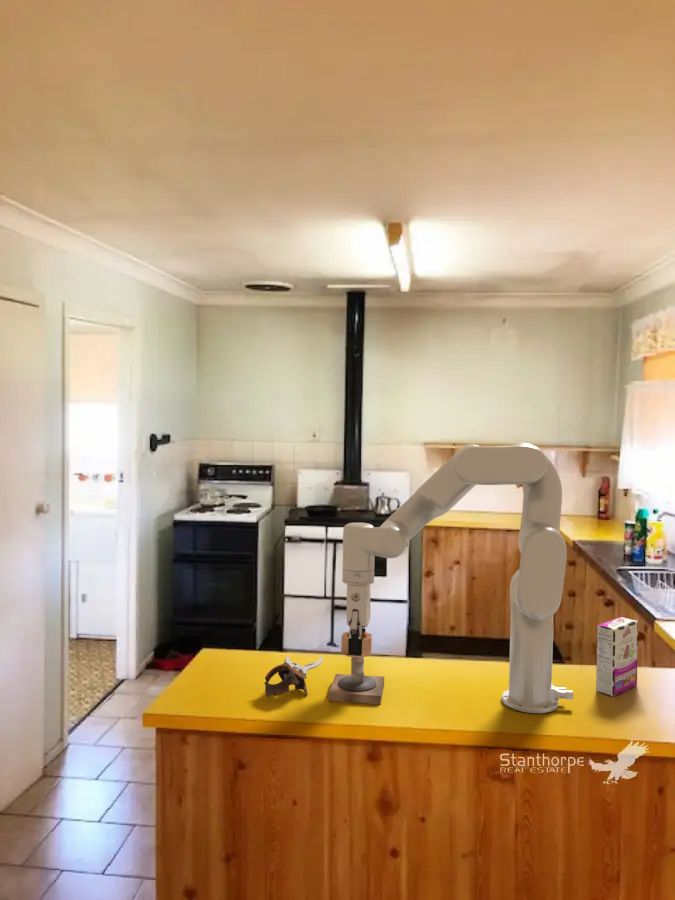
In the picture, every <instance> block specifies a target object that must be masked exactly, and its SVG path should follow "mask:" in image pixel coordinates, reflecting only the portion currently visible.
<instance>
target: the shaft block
mask: <svg viewBox="0 0 675 900" xmlns="http://www.w3.org/2000/svg"><path fill="white" fill-rule="evenodd" d="M350 660H351V661H350V664H351V665H350V672H351V673H350V674H345V673H342V674H341V673H335V675H334V677H333V680H332V683H331V686H330V687H329V688H330V689H329V691H328V702H335V701H342V702H341V703H352V704H353V703H354V704H368V705H369V704H370V705H381V704H382V699H383V694H384V693H383V692H384V686H385V676H383V675H382V676H379V675H366V674H365V675H364V672H365V657H362V658H359V657H350Z"/></svg>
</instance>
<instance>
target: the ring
mask: <svg viewBox="0 0 675 900" xmlns="http://www.w3.org/2000/svg"><path fill="white" fill-rule="evenodd" d="M348 638H349V631H346V632H343V633H342V635H341V638H340V639H341V640H340V641H341V642H340V643H341V647H340V648H341V649H340V651H341V652H340V654H342V655H344V656H346V657H349V658H352V657H359V658H362V657H364V658H365V657H369V656H371V655H372V651H373V634H372V633H370V632H367V631H365V632H363V631H362V632H361V638H362V655H361V656H352V655H348Z"/></svg>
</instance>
